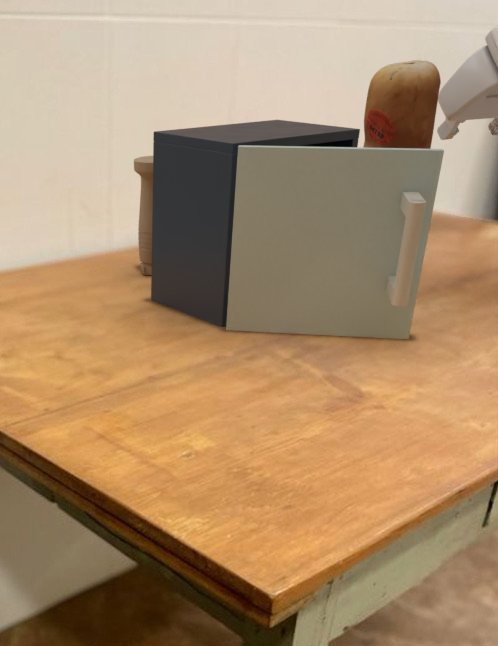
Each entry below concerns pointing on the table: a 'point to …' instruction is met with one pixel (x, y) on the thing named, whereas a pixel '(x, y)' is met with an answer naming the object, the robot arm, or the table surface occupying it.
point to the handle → (145, 212)
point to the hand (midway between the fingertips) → (468, 133)
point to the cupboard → (209, 206)
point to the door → (330, 239)
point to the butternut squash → (402, 106)
